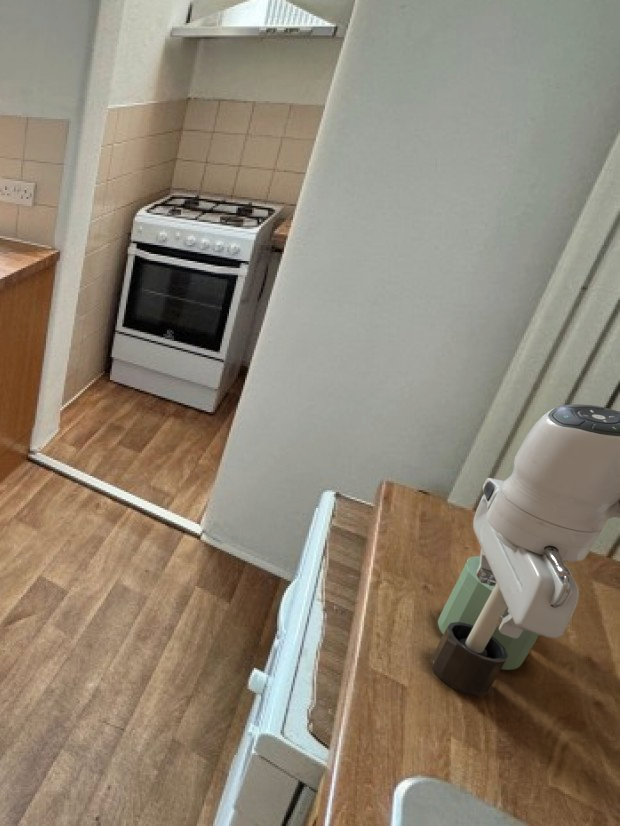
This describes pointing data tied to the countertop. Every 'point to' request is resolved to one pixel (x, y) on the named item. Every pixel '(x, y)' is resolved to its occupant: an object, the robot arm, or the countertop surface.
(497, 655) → the holder
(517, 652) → the jar
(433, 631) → the countertop surface
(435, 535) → the countertop surface
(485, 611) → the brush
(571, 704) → the countertop surface
